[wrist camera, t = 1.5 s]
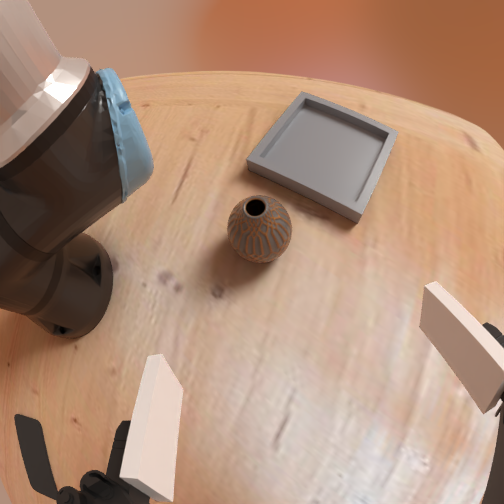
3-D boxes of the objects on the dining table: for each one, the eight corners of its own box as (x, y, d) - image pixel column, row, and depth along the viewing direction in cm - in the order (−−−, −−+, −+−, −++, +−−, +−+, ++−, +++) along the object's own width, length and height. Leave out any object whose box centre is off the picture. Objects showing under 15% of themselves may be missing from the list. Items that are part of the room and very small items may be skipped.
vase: (247, 279, 34) (235, 254, 26) (224, 230, 36) (208, 193, 28) (301, 254, 34) (306, 222, 26) (275, 207, 36) (272, 166, 28)
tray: (248, 170, 39) (246, 159, 36) (301, 102, 42) (301, 91, 40) (357, 223, 35) (362, 214, 32) (394, 142, 38) (398, 131, 36)
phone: (31, 489, 24) (13, 412, 29) (34, 488, 25) (16, 412, 30) (59, 502, 24) (38, 421, 29) (62, 500, 25) (42, 420, 30)
